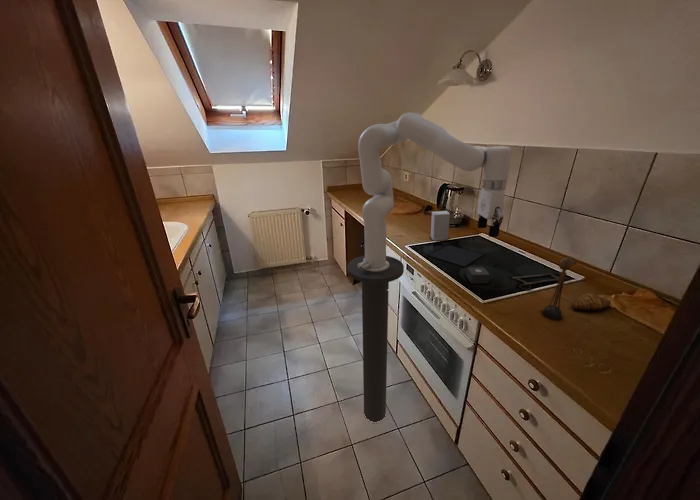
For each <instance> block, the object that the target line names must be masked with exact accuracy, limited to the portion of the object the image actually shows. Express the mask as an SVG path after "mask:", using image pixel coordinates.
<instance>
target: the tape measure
mask: <svg viewBox="0 0 700 500" xmlns="http://www.w3.org/2000/svg"><path fill="white" fill-rule="evenodd" d="M465 277H466V278H467V280H468V281H469V282H470V283H471V284H473V285H474V284H489V283H490V277H491V274H490V273H489V272H488V271H487V270H486V268H485V267H484V266H483V267H482V266H480V267H479V266H478V267H477V266H476V267H475V266H473V267H472V266H471V267H470V266H469V267H467V266H466V274H465Z"/></svg>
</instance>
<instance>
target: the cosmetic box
mask: <svg viewBox="0 0 700 500" xmlns="http://www.w3.org/2000/svg"><path fill="white" fill-rule="evenodd" d="M450 218H451V213H450V212H449V211H448V210H438V211H431V219H430V220H431V221H430V222H431V223H430V238H431V240H432V241H433V242H434V241H435V242H436V241H448V240H449V232H450V221H451V219H450Z"/></svg>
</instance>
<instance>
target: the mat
mask: <svg viewBox="0 0 700 500" xmlns="http://www.w3.org/2000/svg"><path fill="white" fill-rule="evenodd" d="M428 256H429V257H432V258H434V259H438V260H441V261H443V262H446V263H450V264H453V265H456V266H460V267H463V268H466V267H467V266H468V265H470V264H473V263H474V262H475V261H477V260H478V259H480V258H481V257H483V256H484V254H483V253H480V252H475V251H472V250H469V249H465V248H461V247H457V246H454V245H450V244H448V245H446V246H443V247H442V248H440V249H438V250H436V251H434V252H432V253H429V254H428Z"/></svg>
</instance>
